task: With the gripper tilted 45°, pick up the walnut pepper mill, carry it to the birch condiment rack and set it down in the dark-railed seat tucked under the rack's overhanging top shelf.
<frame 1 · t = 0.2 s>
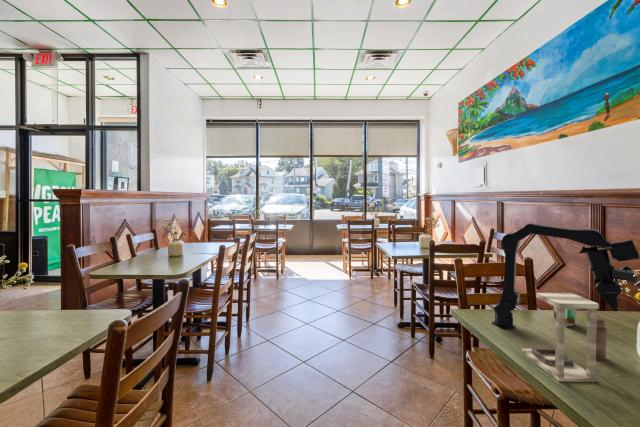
hand: (614, 307, 108), 15 cm above the table, tool pointing down, fingers open, 9 cm apart
pepper mill: (596, 356, 104), on the table
food container: (567, 323, 132), on the table
condiment rack: (551, 361, 102), on the table
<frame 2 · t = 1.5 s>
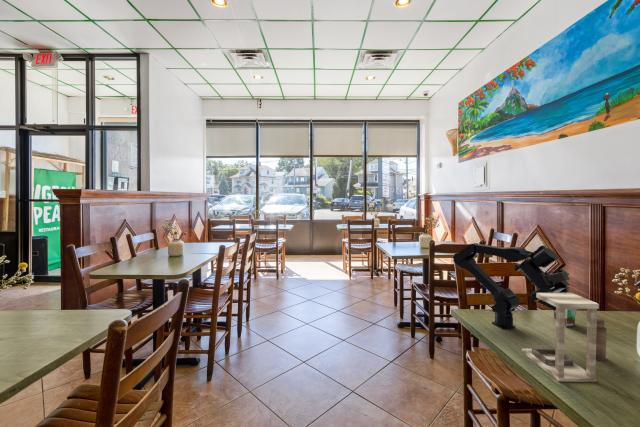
hand: (568, 310, 111), 13 cm above the table, tool tilted 45°, fingers open, 9 cm apart
nothing on the table moved.
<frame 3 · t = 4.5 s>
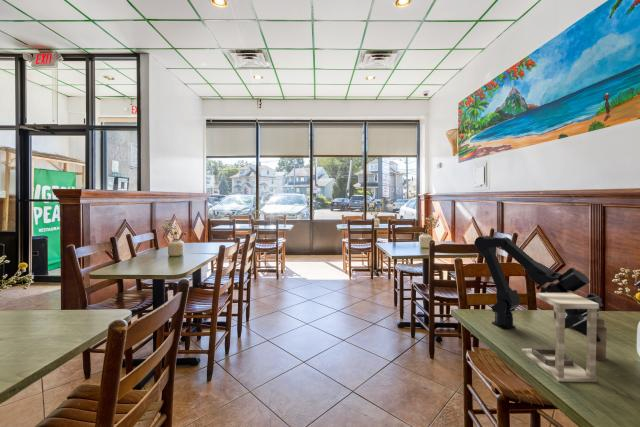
hand: (602, 339, 103), 7 cm above the table, tool tilted 45°, fingers closed on pepper mill, 4 cm apart
pepper mill: (596, 356, 104), on the table, touching gripper
everything else where it was.
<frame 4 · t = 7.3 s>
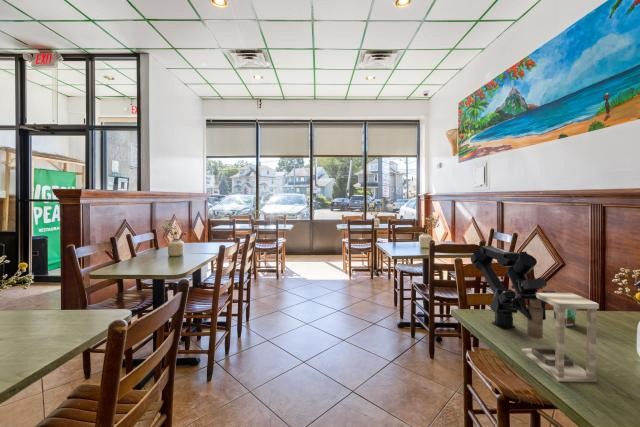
hand: (537, 319, 109), 11 cm above the table, tool tilted 45°, fingers closed on pepper mill, 4 cm apart
pepper mill: (534, 335, 110), point 5 cm above the table, touching gripper
everything else where it was.
when the fingers open (8 cm above the table, at t = 10.1 s): pepper mill stays where it is, resting on condiment rack.
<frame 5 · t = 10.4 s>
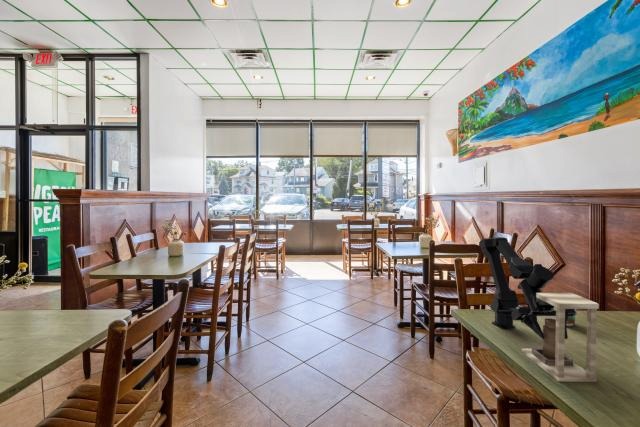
hand: (554, 338, 100), 9 cm above the table, tool tilted 45°, fingers open, 7 cm apart
pepper mill: (551, 358, 102), point 1 cm above the table, touching condiment rack
everything else where it was.
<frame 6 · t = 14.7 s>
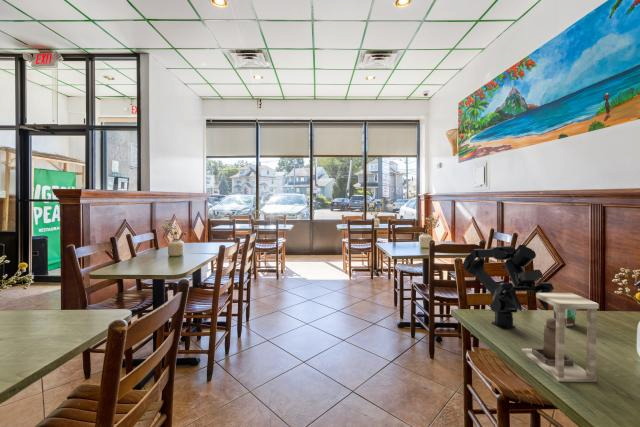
hand: (534, 310, 112), 14 cm above the table, tool tilted 45°, fingers open, 9 cm apart
nothing on the table moved.
at the end: pepper mill 0.1 cm off-centre on the condiment rack, point 1.0 cm above the condiment rack's base; pepper mill tilted 1°; the gripper is holding nothing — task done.
